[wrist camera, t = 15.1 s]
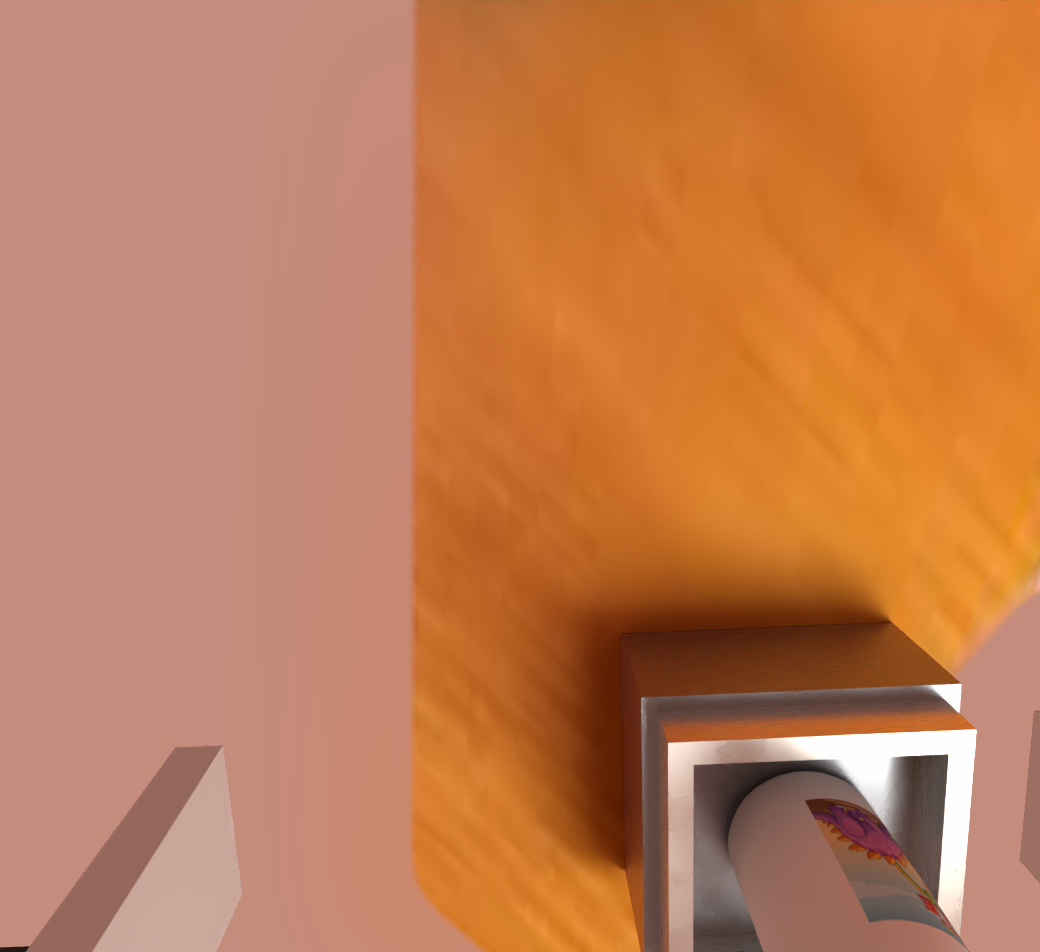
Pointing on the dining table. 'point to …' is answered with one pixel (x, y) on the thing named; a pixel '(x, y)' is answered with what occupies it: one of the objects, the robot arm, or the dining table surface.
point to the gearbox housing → (780, 760)
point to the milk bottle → (829, 873)
